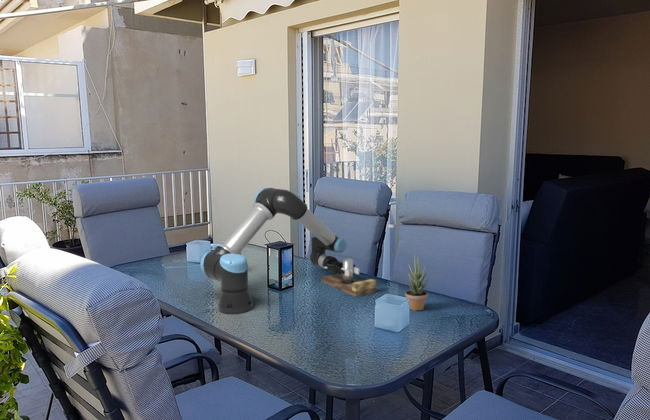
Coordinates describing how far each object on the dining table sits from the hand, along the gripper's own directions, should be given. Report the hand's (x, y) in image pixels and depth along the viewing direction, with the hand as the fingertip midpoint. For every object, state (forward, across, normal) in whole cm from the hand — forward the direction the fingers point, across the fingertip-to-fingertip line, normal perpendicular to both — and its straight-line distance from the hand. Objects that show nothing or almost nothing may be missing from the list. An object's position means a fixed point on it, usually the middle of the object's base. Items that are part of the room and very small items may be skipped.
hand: (354, 272), depth 252 cm
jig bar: (-5, 0, -8) cm, 10 cm away
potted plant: (+38, -6, -9) cm, 39 cm away
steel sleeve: (-5, 0, -8) cm, 9 cm away
